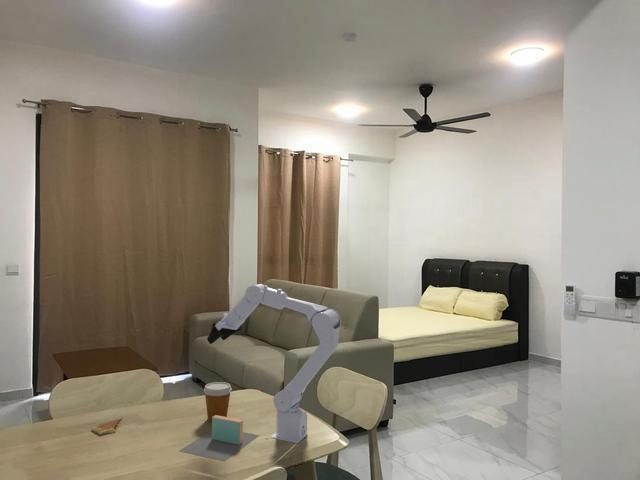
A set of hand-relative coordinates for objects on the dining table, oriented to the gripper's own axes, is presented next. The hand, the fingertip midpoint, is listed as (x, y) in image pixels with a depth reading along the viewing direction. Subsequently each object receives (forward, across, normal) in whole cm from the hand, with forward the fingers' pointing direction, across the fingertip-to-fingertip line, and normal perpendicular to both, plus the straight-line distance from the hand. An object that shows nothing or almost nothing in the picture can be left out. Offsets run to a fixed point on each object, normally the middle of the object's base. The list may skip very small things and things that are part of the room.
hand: (215, 339), depth 169 cm
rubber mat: (+14, +12, +28) cm, 33 cm away
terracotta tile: (+13, +10, +28) cm, 33 cm away
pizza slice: (+42, +17, -2) cm, 46 cm away
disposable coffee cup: (+22, -4, +19) cm, 29 cm away
